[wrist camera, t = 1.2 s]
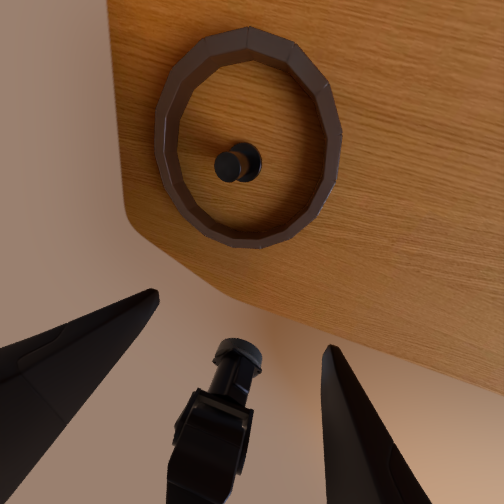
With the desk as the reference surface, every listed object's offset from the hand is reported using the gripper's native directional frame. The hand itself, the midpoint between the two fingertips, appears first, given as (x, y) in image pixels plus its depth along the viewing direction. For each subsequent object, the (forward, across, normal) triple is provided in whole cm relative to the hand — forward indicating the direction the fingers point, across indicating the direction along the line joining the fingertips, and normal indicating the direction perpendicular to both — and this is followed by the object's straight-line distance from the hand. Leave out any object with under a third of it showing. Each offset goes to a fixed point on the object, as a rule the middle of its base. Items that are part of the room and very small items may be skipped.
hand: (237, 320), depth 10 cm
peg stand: (+12, +4, -6) cm, 14 cm away
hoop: (+12, +4, -6) cm, 14 cm away
